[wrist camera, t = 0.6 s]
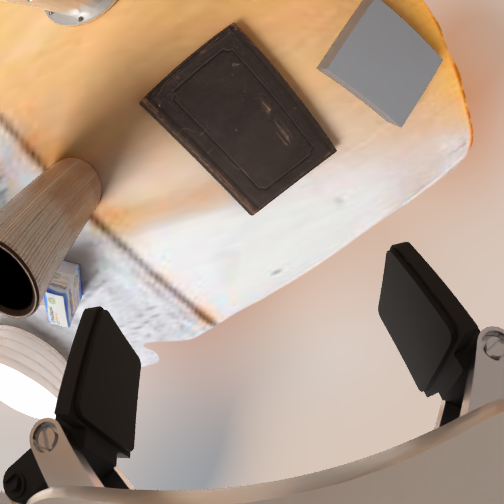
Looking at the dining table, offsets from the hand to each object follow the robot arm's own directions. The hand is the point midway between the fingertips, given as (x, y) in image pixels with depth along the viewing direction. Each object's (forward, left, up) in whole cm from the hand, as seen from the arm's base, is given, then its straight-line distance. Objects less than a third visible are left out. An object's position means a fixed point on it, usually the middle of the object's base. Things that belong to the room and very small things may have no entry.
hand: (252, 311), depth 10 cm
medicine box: (-13, -36, -35) cm, 52 cm away
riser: (+15, +20, -35) cm, 43 cm away
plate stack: (-23, -73, -35) cm, 84 cm away
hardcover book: (+3, +1, -36) cm, 36 cm away
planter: (-16, -18, -35) cm, 42 cm away
